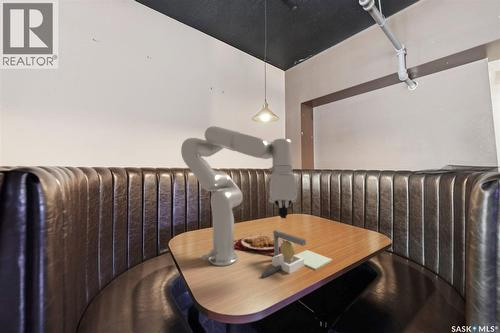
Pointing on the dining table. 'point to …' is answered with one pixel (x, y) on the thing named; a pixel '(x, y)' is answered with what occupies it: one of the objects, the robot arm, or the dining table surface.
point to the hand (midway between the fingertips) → (283, 217)
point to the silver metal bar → (289, 237)
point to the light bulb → (288, 251)
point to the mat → (313, 259)
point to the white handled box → (279, 263)
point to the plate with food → (258, 244)
